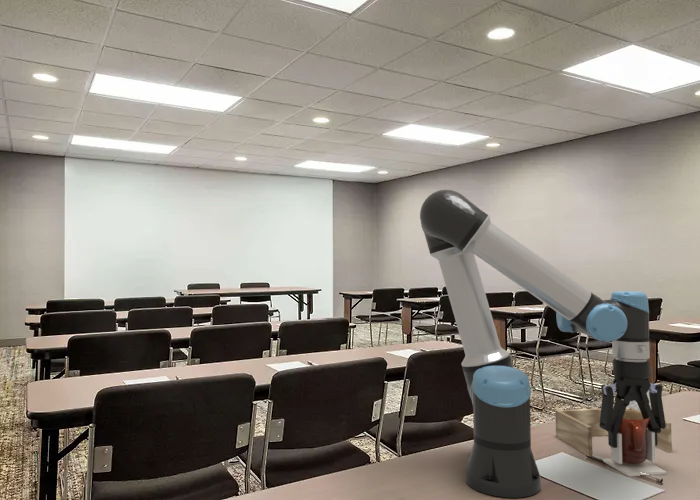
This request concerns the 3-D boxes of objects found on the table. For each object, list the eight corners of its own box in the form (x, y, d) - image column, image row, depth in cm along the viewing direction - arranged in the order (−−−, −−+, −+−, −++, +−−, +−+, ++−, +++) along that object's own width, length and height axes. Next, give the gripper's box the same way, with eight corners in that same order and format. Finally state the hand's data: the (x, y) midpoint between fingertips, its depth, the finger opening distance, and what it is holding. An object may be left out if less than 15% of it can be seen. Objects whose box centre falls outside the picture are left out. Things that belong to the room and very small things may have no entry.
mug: (603, 451, 124) (602, 408, 125) (642, 454, 123) (642, 410, 123) (618, 470, 113) (617, 422, 113) (662, 473, 111) (661, 425, 111)
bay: (588, 456, 125) (587, 427, 125) (556, 436, 140) (555, 410, 140) (671, 451, 128) (671, 423, 128) (631, 433, 143) (630, 407, 143)
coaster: (628, 476, 113) (628, 473, 113) (603, 461, 122) (603, 458, 122) (666, 474, 114) (666, 471, 114) (638, 459, 123) (638, 456, 123)
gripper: (599, 363, 114) (602, 469, 113) (683, 360, 116) (686, 464, 115) (580, 357, 121) (582, 456, 120) (659, 355, 124) (662, 452, 123)
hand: (633, 460), depth 118 cm, fingers closed on mug, 7 cm apart
